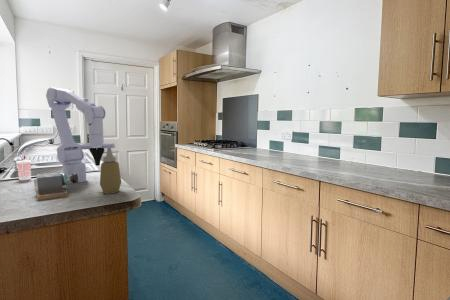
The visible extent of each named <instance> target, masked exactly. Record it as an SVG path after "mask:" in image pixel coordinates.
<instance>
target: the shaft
mask: <svg viewBox="0 0 450 300" xmlns="http://www.w3.org/2000/svg"><path fill="white" fill-rule="evenodd" d="M60 174H61V175H62V186H64V187H66V186H68V184H78V183H79V182H78V175H77V174H72V175H70V176H66V174H63V173H60ZM71 182H72V183H71ZM67 183H68V184H67ZM33 184H34V188H36V187H38V182H37V178H33Z"/></svg>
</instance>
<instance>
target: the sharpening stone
mask: <svg viewBox="0 0 450 300" xmlns="http://www.w3.org/2000/svg"><path fill="white" fill-rule="evenodd" d="M61 174H62V173H61V172H50V173H39V174H36V179H37V182H38V187H35V192H36V198H37V201H39V202H40V201H45V200H53V199H59V198H66V197H69V192H68V190H67V189H66V186H62V175H61Z"/></svg>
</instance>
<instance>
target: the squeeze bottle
mask: <svg viewBox="0 0 450 300" xmlns="http://www.w3.org/2000/svg"><path fill="white" fill-rule="evenodd" d="M106 149H107V150H106V154H105V155H106V156H104V157H103V156H102V160H103V162H101V163H100V177H99V185H100V187H101V190H102V193H104V194H115V193H118V192H119V191H120V188H121V184H122V178H121V176H122V175H121V171H120V165H119V164H120V163H119V162H118V161H117V156H113V155H114V154H113V151H112V148H106Z"/></svg>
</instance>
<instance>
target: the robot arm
mask: <svg viewBox="0 0 450 300" xmlns="http://www.w3.org/2000/svg"><path fill="white" fill-rule="evenodd" d="M45 97H46V100H47V104H48V108H50V109H51V113H52V115H53V116H52V117H53V119H54V123H55V127H56V129H57V133H58V136H59V140H60V144H59V145H58V146H57V148H56V152H57V154H56V156H57V157H56V158H57V160H58V162H59V163H60V164H62V174H66V176H70V175H72V174H77V175H78V183H85V182H87V168H86V167H87V166H86V163H85V162H82V161H83V160H84V157H85V154H84V150H89V152H90V154H91V155H92V157H93V160H94V163H95V166H98V167H99V166H101V162H102V161H101V160H102V158H103V155H104V153H105V149H108V148H111V149H115V148H116V147H115V146H116V143H114V142H113V143H104V140H105V139H104V119H105V117H106V110H105V108H104V107H103V106H102V105H96V104H95V103H94V102H91V101H90V100H89V99H88V98H87V97H83V98H81V97H80V96H78V95H77V94H76V93H75V91H74V90H72V89H71V88H60V87H51V86H49V88H48V89H47V90H46V93H45ZM71 104H74V105H75V107H76V109H77V110H79V112H81V113H82V114H83V115H84V118H85V119H86V124H87V126H88V143H87V144H79V143H78V142H76V141H75V140H74V137H73V134H72V131H71V126H70V124H69V120H68V116H67V113H66V110H67V109H68V108H70V106H71ZM68 184H69V183H67V185H68ZM70 184H73V183H72V182H71V183H70Z"/></svg>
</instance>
